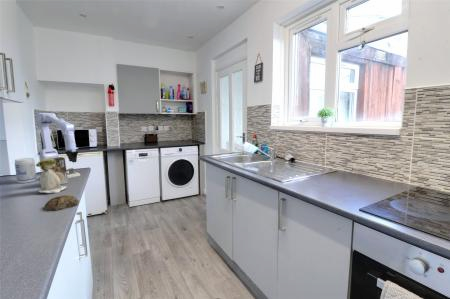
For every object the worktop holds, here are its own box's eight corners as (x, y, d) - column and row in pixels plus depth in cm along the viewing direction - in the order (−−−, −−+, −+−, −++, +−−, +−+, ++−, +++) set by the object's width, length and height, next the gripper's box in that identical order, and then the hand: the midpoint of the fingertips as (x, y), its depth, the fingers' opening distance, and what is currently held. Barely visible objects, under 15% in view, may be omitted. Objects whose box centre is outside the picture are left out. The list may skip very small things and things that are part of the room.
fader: (69, 173, 158) (68, 168, 157) (73, 172, 160) (72, 167, 159) (70, 173, 157) (69, 168, 156) (74, 173, 159) (73, 168, 158)
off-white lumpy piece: (47, 195, 118) (42, 161, 115) (32, 193, 123) (27, 159, 120) (70, 189, 129) (66, 157, 126) (55, 186, 134) (51, 156, 131)
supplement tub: (13, 184, 140) (10, 161, 138) (22, 180, 149) (19, 158, 147) (32, 182, 143) (29, 159, 140) (39, 178, 152) (36, 157, 149)
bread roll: (72, 199, 113) (71, 189, 113) (82, 205, 106) (80, 194, 105) (40, 207, 104) (39, 197, 103) (48, 214, 96) (46, 203, 95)
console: (50, 176, 158) (49, 171, 157) (71, 172, 168) (71, 167, 167) (57, 179, 148) (57, 174, 147) (80, 175, 158) (79, 170, 158)
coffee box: (64, 181, 144) (61, 156, 142) (68, 183, 141) (65, 157, 138) (47, 185, 137) (43, 159, 135) (50, 186, 133) (47, 160, 131)
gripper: (79, 141, 149) (82, 161, 150) (74, 141, 159) (77, 160, 160) (67, 142, 144) (70, 163, 145) (62, 142, 154) (65, 161, 155)
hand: (73, 161), depth 153 cm, fingers open, 7 cm apart
